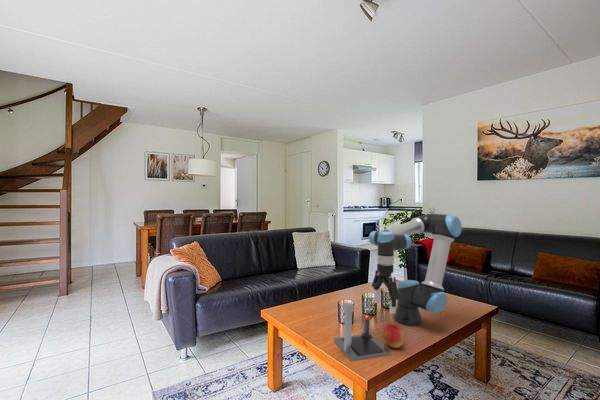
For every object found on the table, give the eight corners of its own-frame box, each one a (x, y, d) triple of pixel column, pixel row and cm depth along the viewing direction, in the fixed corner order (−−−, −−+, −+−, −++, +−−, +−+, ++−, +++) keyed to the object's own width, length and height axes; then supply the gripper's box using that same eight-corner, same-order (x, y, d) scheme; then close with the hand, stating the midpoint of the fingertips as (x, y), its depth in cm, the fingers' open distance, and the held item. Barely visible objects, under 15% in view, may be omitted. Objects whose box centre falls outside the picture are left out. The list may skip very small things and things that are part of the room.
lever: (368, 334, 150) (368, 313, 150) (371, 337, 147) (371, 315, 147) (361, 335, 149) (361, 314, 149) (364, 338, 146) (364, 316, 146)
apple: (389, 352, 137) (390, 330, 137) (380, 342, 146) (380, 322, 146) (408, 350, 139) (409, 329, 138) (398, 340, 148) (398, 321, 148)
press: (369, 336, 152) (371, 292, 152) (390, 354, 135) (392, 305, 135) (333, 341, 146) (334, 296, 146) (349, 361, 129) (351, 309, 128)
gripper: (365, 258, 154) (364, 299, 154) (393, 270, 130) (392, 318, 130) (378, 258, 156) (377, 298, 156) (408, 269, 132) (407, 317, 132)
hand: (384, 307), depth 143 cm, fingers open, 13 cm apart
